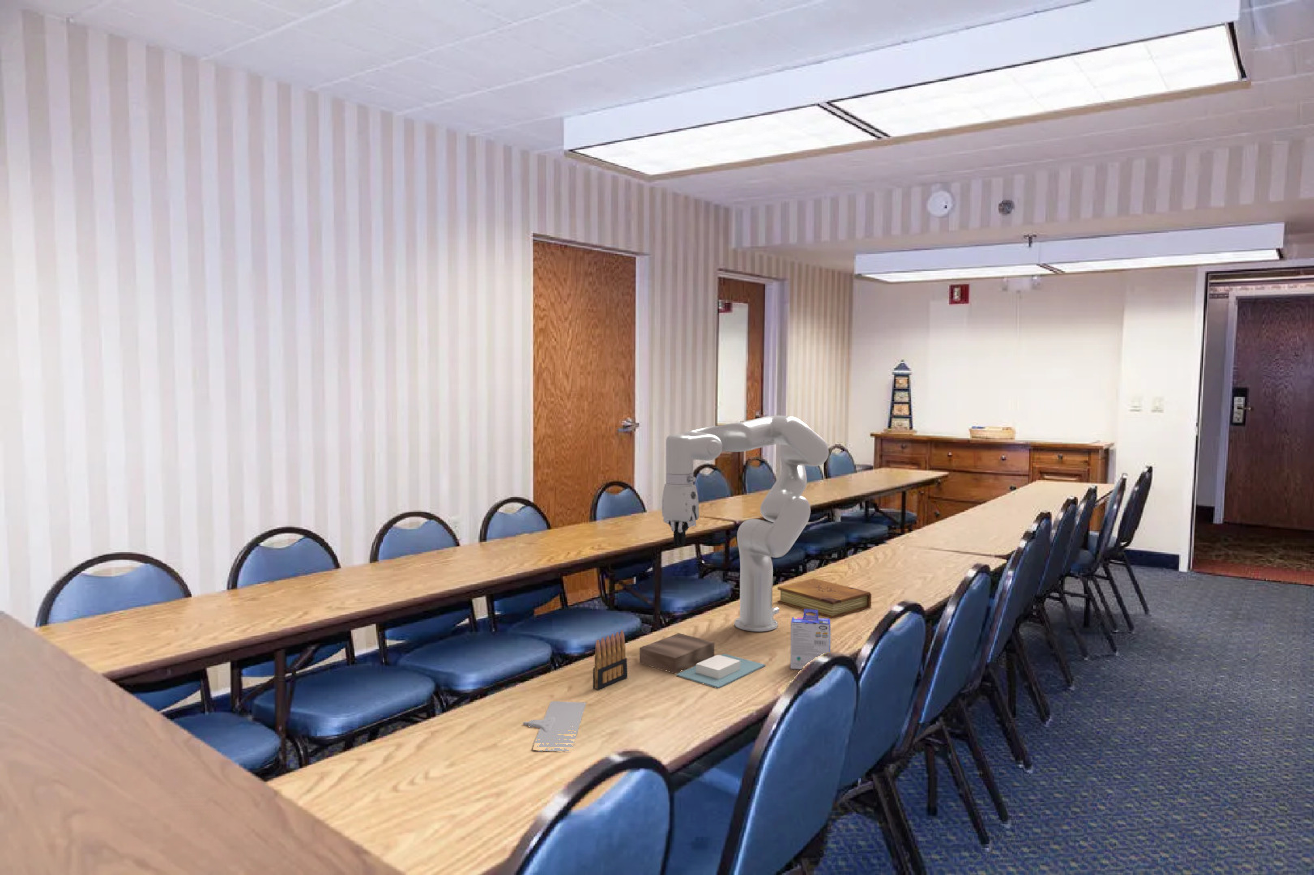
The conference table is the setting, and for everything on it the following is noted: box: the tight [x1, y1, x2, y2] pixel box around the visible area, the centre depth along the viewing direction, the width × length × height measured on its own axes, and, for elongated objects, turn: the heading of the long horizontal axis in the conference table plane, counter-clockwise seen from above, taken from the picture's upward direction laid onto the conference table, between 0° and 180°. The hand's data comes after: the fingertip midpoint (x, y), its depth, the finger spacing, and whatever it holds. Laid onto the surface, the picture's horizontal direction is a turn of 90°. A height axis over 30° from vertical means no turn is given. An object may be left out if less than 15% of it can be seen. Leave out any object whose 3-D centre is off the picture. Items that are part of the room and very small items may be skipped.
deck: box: [639, 632, 715, 674], centre depth 218 cm, size 16×12×4 cm
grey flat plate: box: [522, 700, 587, 752], centre depth 178 cm, size 25×24×1 cm
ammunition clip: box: [592, 629, 628, 691], centre depth 201 cm, size 11×2×12 cm, turn 142°
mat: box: [675, 653, 766, 689], centre depth 210 cm, size 20×13×1 cm, turn 139°
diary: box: [777, 578, 872, 619], centre depth 270 cm, size 23×19×6 cm
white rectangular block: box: [695, 654, 740, 679], centre depth 209 cm, size 9×7×2 cm
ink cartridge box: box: [789, 609, 832, 670], centre depth 212 cm, size 10×6×14 cm, turn 78°
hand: (679, 545), depth 231 cm, fingers closed
